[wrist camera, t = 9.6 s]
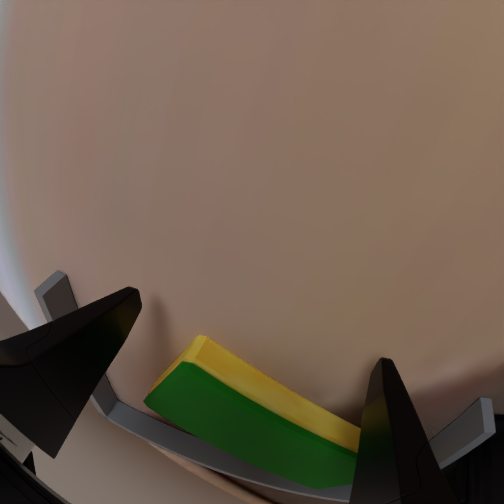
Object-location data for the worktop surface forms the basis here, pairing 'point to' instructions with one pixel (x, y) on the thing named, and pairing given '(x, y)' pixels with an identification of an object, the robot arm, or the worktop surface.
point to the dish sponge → (255, 417)
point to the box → (199, 451)
